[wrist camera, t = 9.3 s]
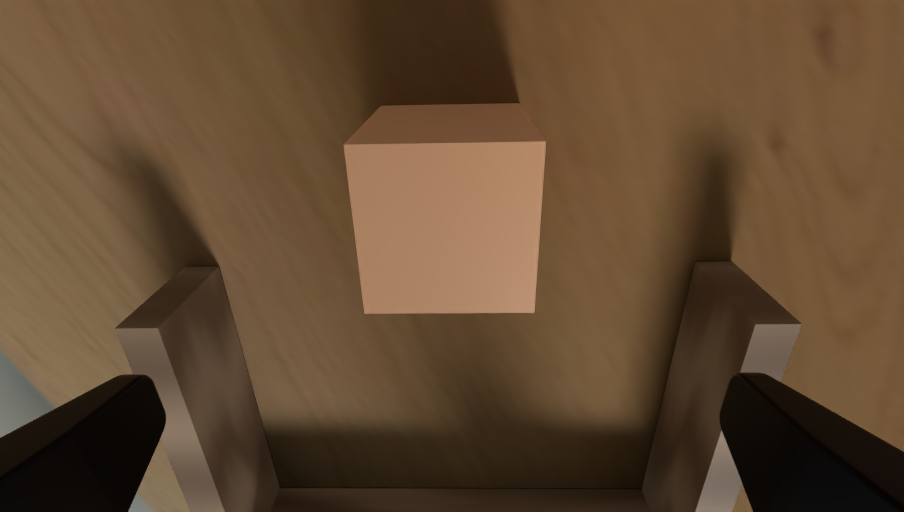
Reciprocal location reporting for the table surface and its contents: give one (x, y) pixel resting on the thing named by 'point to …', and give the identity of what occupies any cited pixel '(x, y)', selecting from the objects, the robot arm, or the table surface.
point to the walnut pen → (273, 508)
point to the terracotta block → (447, 208)
